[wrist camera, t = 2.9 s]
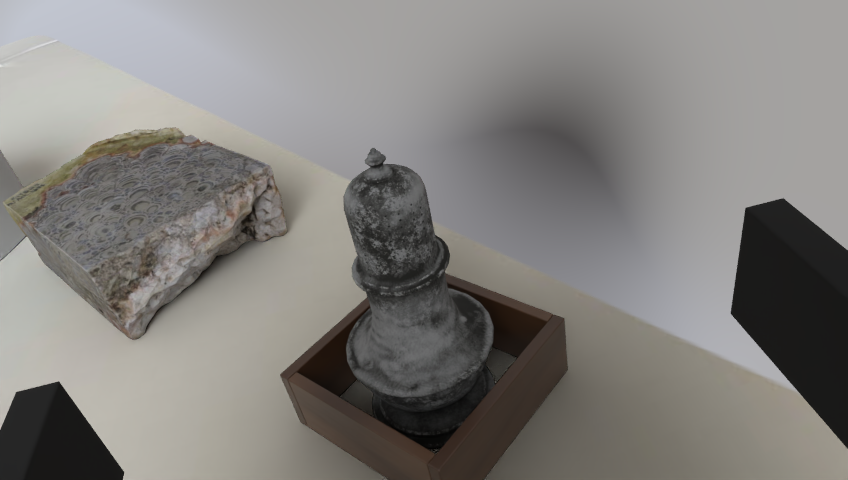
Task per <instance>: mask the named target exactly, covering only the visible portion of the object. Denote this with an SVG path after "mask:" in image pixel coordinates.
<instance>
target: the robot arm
mask: <svg viewBox="0 0 848 480" xmlns="http://www.w3.org/2000/svg"><path fill="white" fill-rule="evenodd" d="M731 314H732V315H733V317H734V318H735V319H736V320H737V321H738V322H739V324H740V325H741V326H742V327H743V328H744V329H745V331H746V332H747V333H748V334H749V335H750V336H751V338H752V339H753V340H754V341H755V342H756V343H757V344H758V346H759V347H760V348H761V349H762V350H763V351H764V353H765V354H766V355H767V356H768V357H769V358H770V359H771V360H772V362H773V363H774V364H775V365H776V366H777V367H778V369H779V370H780V371H781V372H782V373H783V374H784V376H785V377H786V378H787V379H788V380H789V381H790V383H791V384H792V385H793V386H794V387H795V388H796V389H797V391H798V392H799V393H800V394H801V395H802V396H803V398H804V399H805V400H806V401H807V402H808V403H809V405H810V406H811V407H812V408H813V409H814V410H815V411H816V413H817V414H818V415H819V416H820V417H821V418H822V420H823V421H824V422H825V423H826V424H827V425H828V426H829V428H830V429H831V430H832V431H833V432H834V433H835V435H836V436H837V437H838V438H839V439H840V440H841V441H842V443H843V444H844V445H845V446H846V447H847V448H848V250H846V249H845V248H844V247H843V246H841V245H840V244H839V243H838V242H836V241H835V240H834V239H833V238H832V237H830V236H829V235H828V234H826V233H825V232H824V231H823V230H822V229H820V228H819V227H818V226H817V225H815V224H814V223H813V222H812V221H810V220H809V219H808V218H807V217H806V216H804V215H803V214H802V213H801V212H799V211H798V210H797V209H796V208H795V207H793V206H792V205H791V204H790V203H788V202H787V201H786V200H785V199H779V200H775V201H771V202H767V203H763V204H759V205H755V206H751V207H747V208H746V209H745V216H744V223H743V230H742V238H741V245H740V252H739V258H738V265H737V273H736V280H735V287H734V294H733V302H732V308H731ZM123 476H124V471H123V470H122V469H121V467H120V466H119V464H118V463H117V462H116V460H115V459H114V457H113V456H112V455H111V453H110V452H109V450H108V449H107V448H106V446H105V445H104V443H103V442H102V441H101V439H100V438H99V437H98V435H97V434H96V432H95V431H94V430H93V428H92V427H91V425H90V424H89V423H88V421H87V420H86V418H85V417H84V416H83V414H82V413H81V411H80V410H79V409H78V407H77V406H76V405H75V403H74V402H73V400H72V399H71V398H70V396H69V395H68V393H67V392H66V391H65V389H64V388H63V386H62V385H61V384H60V382H55V383H51V384H47V385H43V386H39V387H35V388H31V389H27V390H23V391H19V392H16V394H15V397H14V399H13V401H12V404H11V406H10V408H9V411H8V413H7V415H6V418H5V420H4V423H3V425H2V427H1V430H0V480H123Z"/></svg>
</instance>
